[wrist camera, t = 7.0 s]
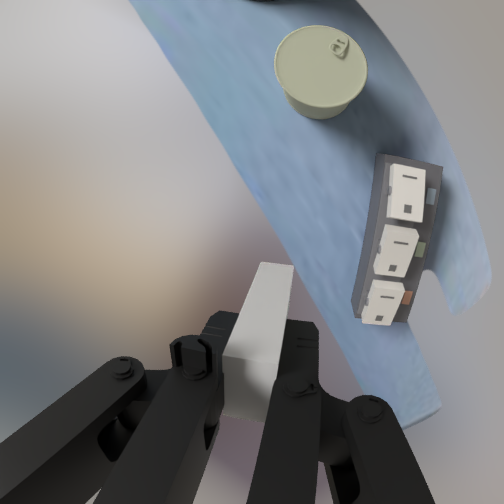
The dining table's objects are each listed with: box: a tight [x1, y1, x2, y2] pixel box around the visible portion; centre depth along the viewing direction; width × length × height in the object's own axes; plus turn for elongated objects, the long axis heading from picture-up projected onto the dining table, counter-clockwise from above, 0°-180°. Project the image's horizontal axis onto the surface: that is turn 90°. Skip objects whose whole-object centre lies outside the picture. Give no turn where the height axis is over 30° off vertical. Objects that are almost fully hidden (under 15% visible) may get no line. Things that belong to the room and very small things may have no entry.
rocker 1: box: [386, 164, 426, 223], centre depth 30 cm, size 6×4×2 cm
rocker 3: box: [361, 279, 405, 326], centre depth 35 cm, size 6×4×2 cm
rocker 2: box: [373, 224, 419, 277], centre depth 32 cm, size 6×4×2 cm
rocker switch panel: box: [351, 153, 443, 322], centre depth 36 cm, size 22×8×6 cm, turn 176°
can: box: [274, 25, 368, 119], centre depth 29 cm, size 9×9×12 cm
